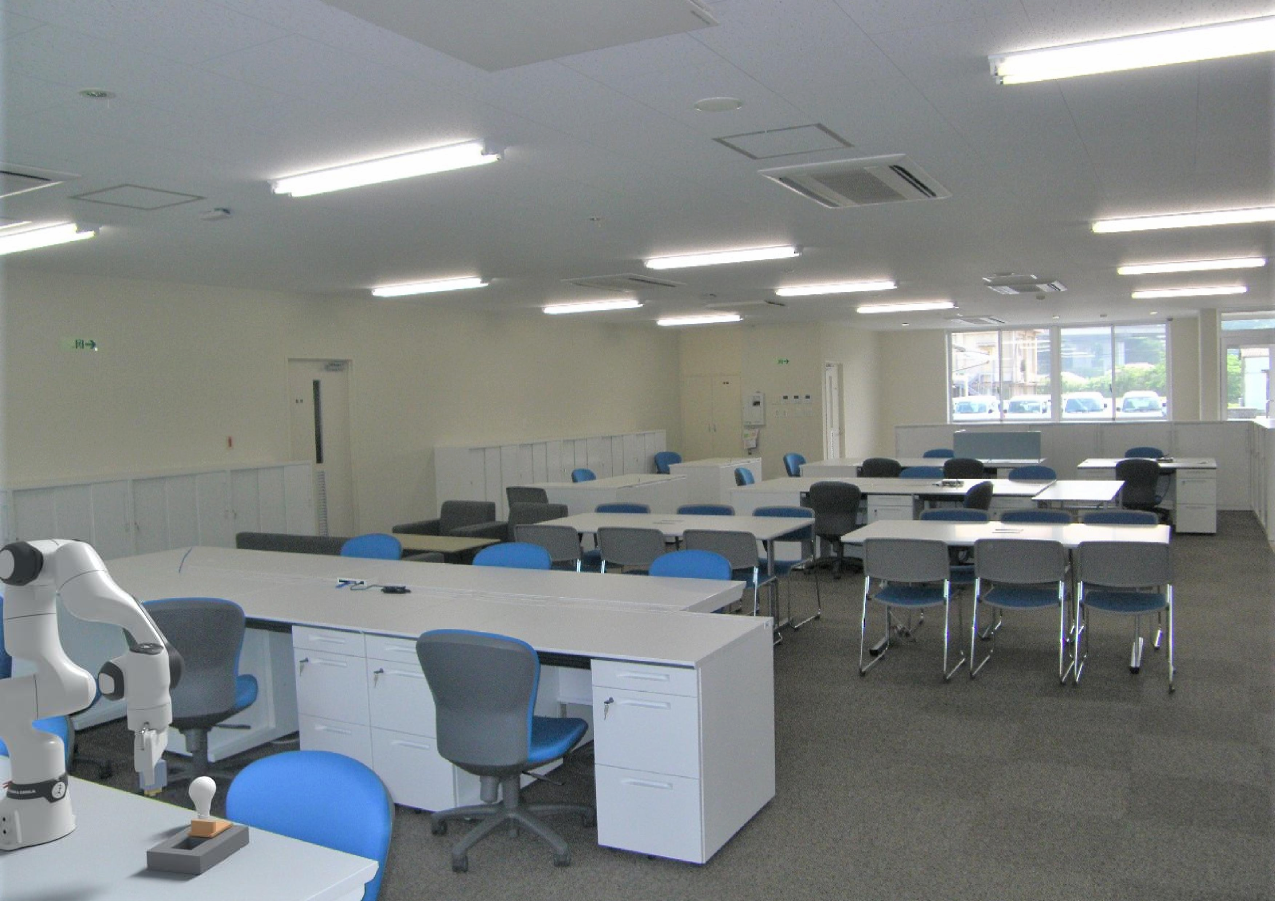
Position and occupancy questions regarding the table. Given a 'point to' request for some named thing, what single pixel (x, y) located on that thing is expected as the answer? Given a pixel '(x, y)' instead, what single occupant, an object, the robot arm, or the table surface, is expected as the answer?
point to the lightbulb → (202, 795)
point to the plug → (159, 779)
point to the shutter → (207, 827)
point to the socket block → (196, 850)
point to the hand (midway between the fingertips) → (153, 779)
